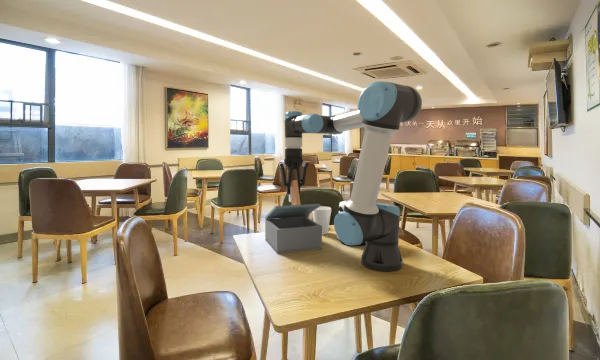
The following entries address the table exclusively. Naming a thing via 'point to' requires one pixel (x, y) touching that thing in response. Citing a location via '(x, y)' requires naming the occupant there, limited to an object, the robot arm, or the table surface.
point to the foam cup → (322, 217)
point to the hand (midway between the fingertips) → (293, 201)
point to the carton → (293, 234)
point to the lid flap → (292, 206)
